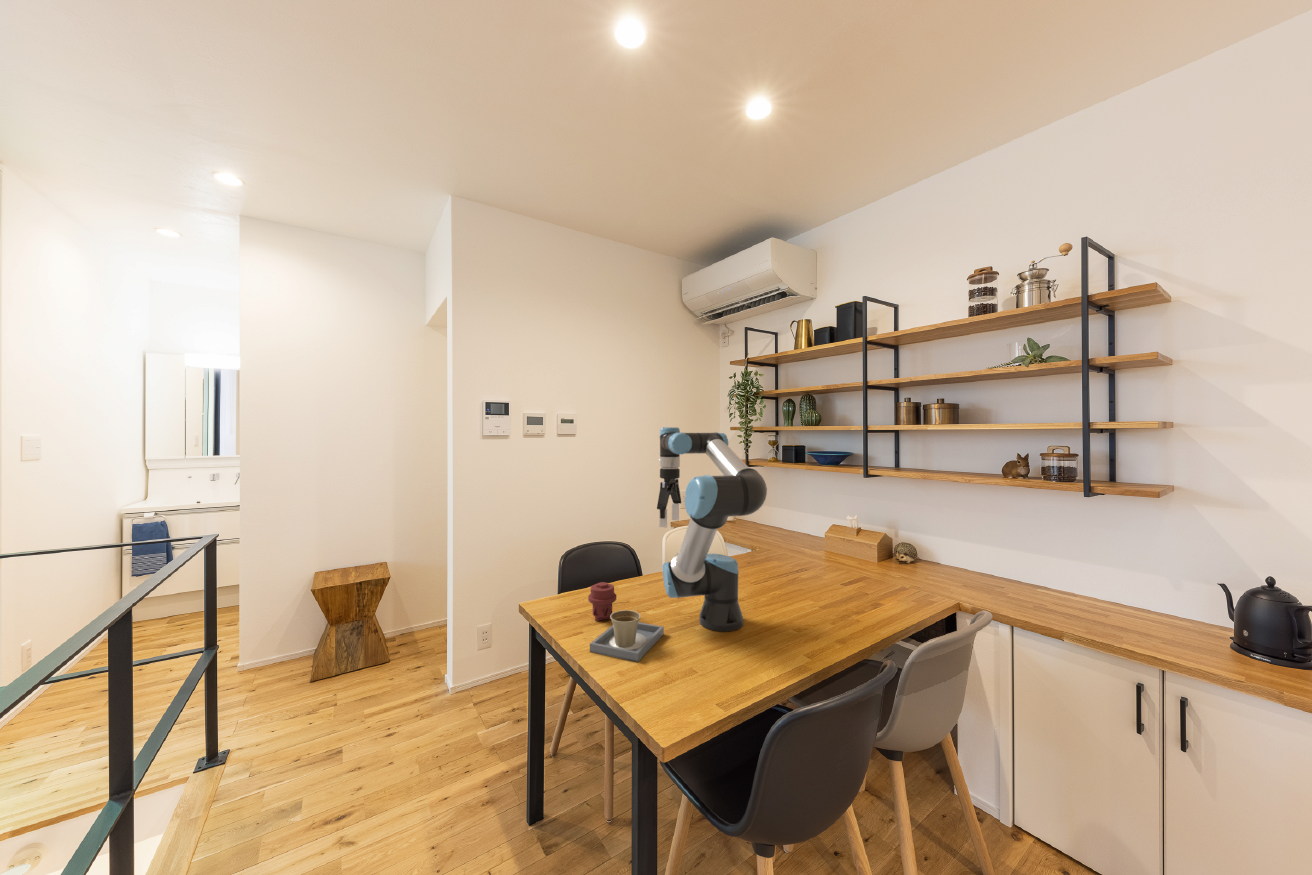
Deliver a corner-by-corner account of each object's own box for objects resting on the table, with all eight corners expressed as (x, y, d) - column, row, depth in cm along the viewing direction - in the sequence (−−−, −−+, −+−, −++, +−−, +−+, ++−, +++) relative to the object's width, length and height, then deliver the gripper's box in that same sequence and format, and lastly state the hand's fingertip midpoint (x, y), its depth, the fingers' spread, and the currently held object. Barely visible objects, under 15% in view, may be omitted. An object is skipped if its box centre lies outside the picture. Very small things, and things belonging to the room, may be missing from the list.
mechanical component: (592, 612, 171) (618, 613, 170) (585, 623, 161) (613, 624, 160) (592, 578, 170) (618, 579, 169) (585, 588, 161) (613, 589, 160)
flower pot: (626, 633, 151) (626, 607, 151) (646, 642, 144) (646, 615, 144) (603, 643, 144) (603, 615, 144) (624, 653, 138) (624, 624, 137)
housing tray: (663, 634, 152) (663, 626, 152) (637, 662, 134) (637, 653, 134) (620, 626, 158) (620, 618, 158) (589, 651, 140) (589, 643, 140)
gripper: (671, 465, 189) (671, 516, 189) (648, 470, 165) (647, 529, 166) (689, 465, 186) (688, 518, 186) (667, 471, 163) (667, 531, 163)
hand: (669, 523), depth 176 cm, fingers open, 13 cm apart
